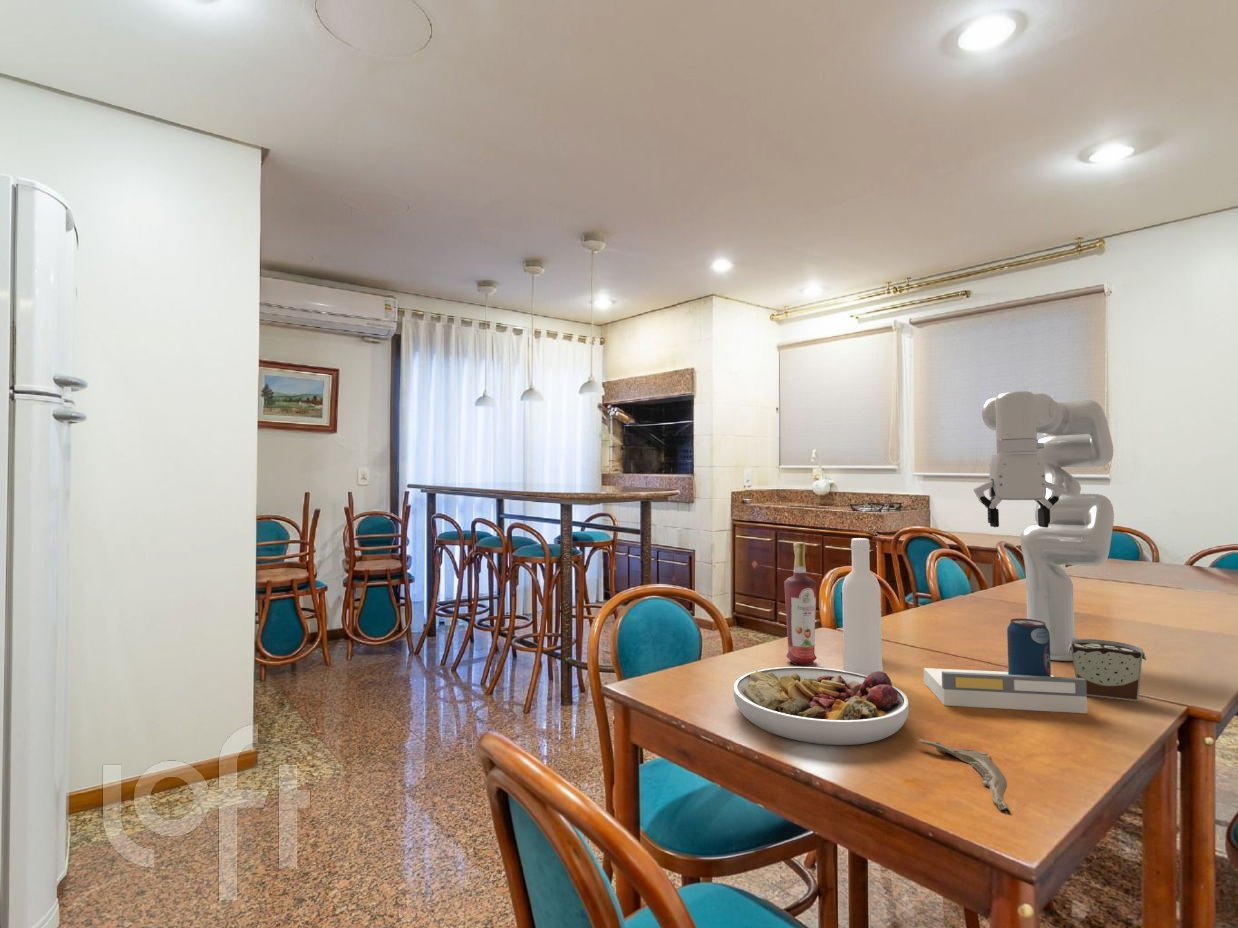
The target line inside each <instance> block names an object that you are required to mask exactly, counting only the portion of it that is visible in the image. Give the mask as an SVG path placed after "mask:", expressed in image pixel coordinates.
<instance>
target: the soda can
mask: <svg viewBox="0 0 1238 928" xmlns="http://www.w3.org/2000/svg"><path fill="white" fill-rule="evenodd" d="M1045 625H1046V623H1045V622H1042V621H1038V620H1032V619H1027V618H1012V619H1010V623H1008V626H1007V628H1006V630H1007V631H1006V632H1007V633H1006V636H1007V639H1006V640H1007V641H1006V642H1007V670H1008V671H1007V672H1008V675H1028V676H1050V677H1051V675H1052V669H1051V667H1052V665H1051V660H1050V633H1049V631H1048V629H1047V627H1046V626H1045Z"/></svg>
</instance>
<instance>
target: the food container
mask: <svg viewBox="0 0 1238 928" xmlns="http://www.w3.org/2000/svg"><path fill="white" fill-rule="evenodd" d="M1071 650H1072V656H1073V661H1072V662H1073V668H1074V675H1075V678H1084V679H1085V680H1086V688H1087V697H1096V698H1104V697H1106V698H1107V699H1114V698H1119V699H1118V700H1123V699H1124V700H1125V699H1126V700H1125V701H1132V700H1135V701H1134V702H1139V695H1140V686H1141V685H1140V683H1141V674H1142V665H1143V664H1142V662H1143V660H1145V661H1147V657H1146V654H1145V652H1144V650H1143V648H1141V647H1139V646H1136V645H1133V644H1129V643H1125V642H1120V641H1115V640H1105V639H1094V638H1093V639H1092V638H1079V639H1077V640H1073V641H1071V644H1070V645H1069V649H1068V653H1070V651H1071ZM1106 698H1105V699H1106Z"/></svg>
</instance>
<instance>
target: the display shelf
mask: <svg viewBox="0 0 1238 928" xmlns="http://www.w3.org/2000/svg"><path fill="white" fill-rule="evenodd" d="M923 683H924V684H925V685H926V687H927V688H929V690H930V691H931V692H932V693H933V695H934V696H935V697H936V698H937V699H938V700H939V701H940V703H941V704H943V706H946V707H947V706H951V707H952V706H953V707H965V708H966V707H967V708H968V707H969V708H983V709H985V708H986V709H1004V710H1018V711H1019V710H1020V711H1037V712H1038V711H1039V712H1057V713H1074V714H1075V713H1076V714H1088V696H1087V688H1086V680H1085V679H1084V678H1076V677H1069V676H1067V677H1066V676H1054V675H1053V674H1051V677H1050V676H1028V675H1008V671H1000V670H999V671H996V670H993V671H992V670H977V669H976V670H975V669H974V670H973V669H970V670H969V669H957V668H956V669H955V668H954V669H950V668H933V667H932V668H931V667H923Z"/></svg>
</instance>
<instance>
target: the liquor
mask: <svg viewBox="0 0 1238 928" xmlns="http://www.w3.org/2000/svg"><path fill="white" fill-rule="evenodd" d="M793 553H794V564H793V575H792V576H789V577H788V578H786V579H785V580H784V581H783V583H784V585H783V586H784V600H785V602H784V603H785V614H786V615H785V616H786V629H787V630H786V631H787V650H788V651H787V654H786V658H787V659H788V660H789V661H790V662H791V663H793V664H795V665H799V666H810V665H811V664H813V663H814V662H815V661H816V659H817V655H816V653H815V646H816V645H815V637H816V636H815V632H816V631H815V630H816V610H817V609H816V606H817V603H816V602H817V581H815V580H814V579H813V578H811V577H809V576H807V569H806V568H807V567H806V557H805V556H806V542H794V543H793ZM809 664H810V665H809Z"/></svg>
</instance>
